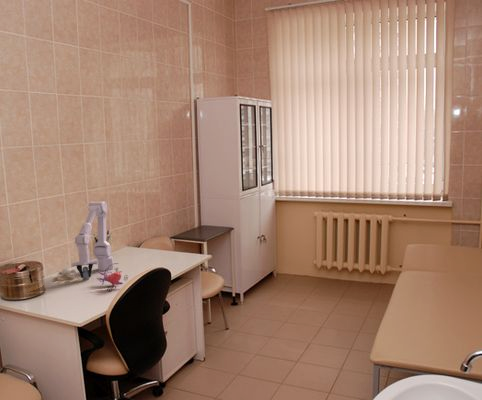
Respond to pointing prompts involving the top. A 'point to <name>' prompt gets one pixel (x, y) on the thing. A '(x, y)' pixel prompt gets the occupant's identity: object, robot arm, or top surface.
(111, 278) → the heart model
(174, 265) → the top surface
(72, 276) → the beige irregular flat piece
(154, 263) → the top surface
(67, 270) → the dome
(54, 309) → the top surface
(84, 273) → the pawn
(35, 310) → the top surface
